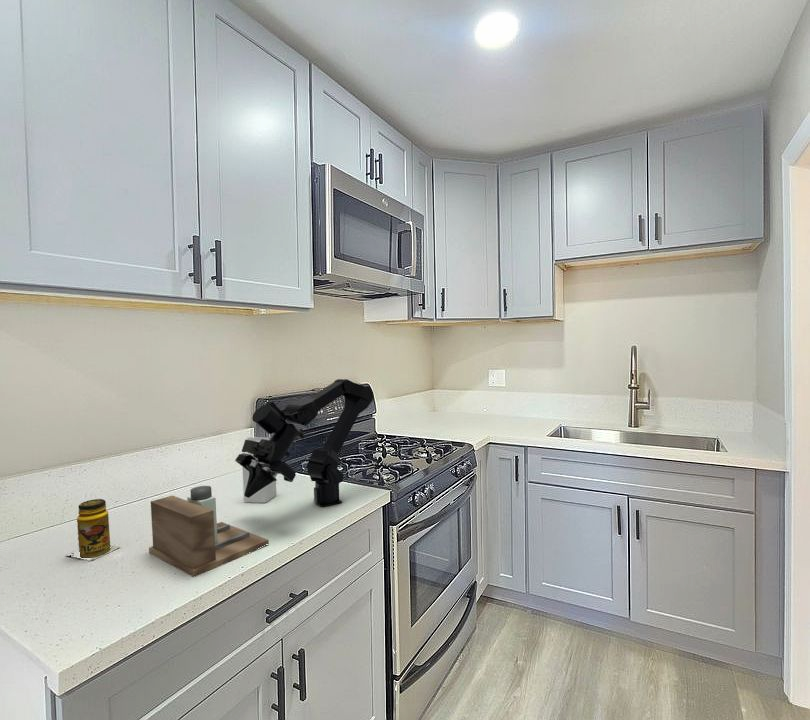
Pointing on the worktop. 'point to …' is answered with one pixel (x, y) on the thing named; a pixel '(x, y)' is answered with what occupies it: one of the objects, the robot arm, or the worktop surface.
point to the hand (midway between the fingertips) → (246, 496)
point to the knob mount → (196, 536)
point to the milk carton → (265, 492)
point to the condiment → (93, 529)
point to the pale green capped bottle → (204, 501)
